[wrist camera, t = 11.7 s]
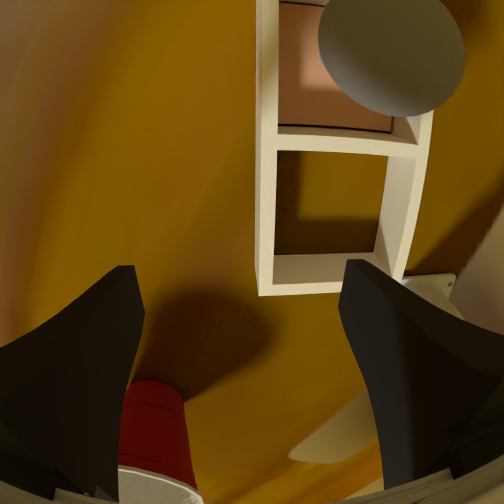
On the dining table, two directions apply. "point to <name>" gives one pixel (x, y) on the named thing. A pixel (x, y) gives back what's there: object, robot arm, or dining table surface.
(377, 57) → the light bulb
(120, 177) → the dining table surface
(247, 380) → the dining table surface
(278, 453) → the dining table surface
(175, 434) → the plastic cup
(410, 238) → the rack
